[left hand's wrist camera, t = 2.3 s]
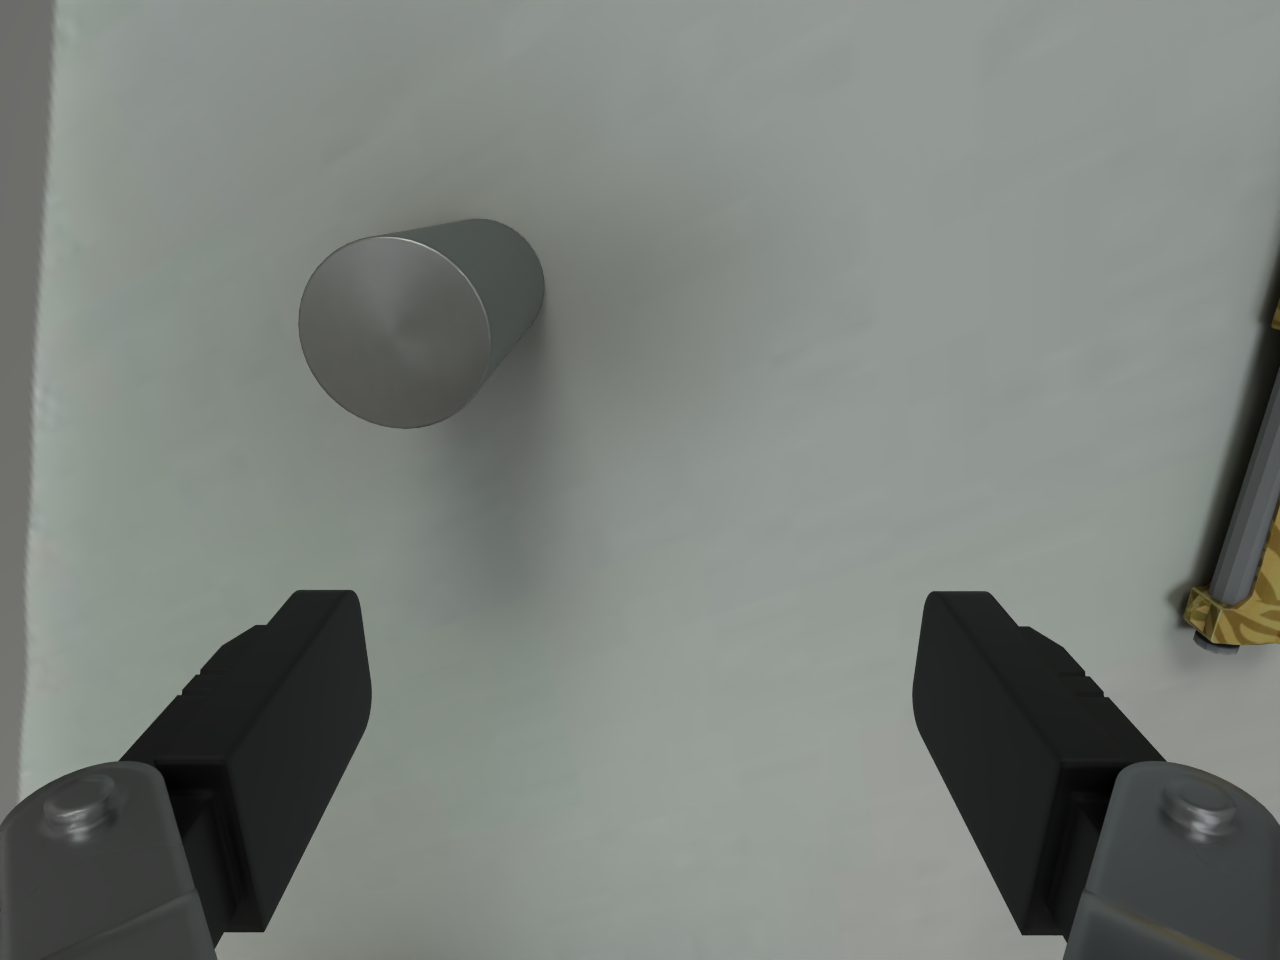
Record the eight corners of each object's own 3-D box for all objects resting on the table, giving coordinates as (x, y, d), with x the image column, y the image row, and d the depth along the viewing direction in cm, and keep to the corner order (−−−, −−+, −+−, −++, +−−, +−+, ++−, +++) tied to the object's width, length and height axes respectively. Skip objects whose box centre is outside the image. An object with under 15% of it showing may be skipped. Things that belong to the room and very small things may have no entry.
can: (559, 326, 28) (517, 401, 18) (446, 358, 29) (342, 449, 19) (522, 203, 27) (452, 211, 17) (403, 238, 27) (265, 266, 17)
